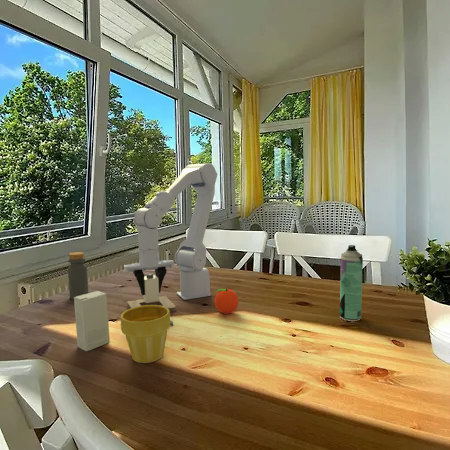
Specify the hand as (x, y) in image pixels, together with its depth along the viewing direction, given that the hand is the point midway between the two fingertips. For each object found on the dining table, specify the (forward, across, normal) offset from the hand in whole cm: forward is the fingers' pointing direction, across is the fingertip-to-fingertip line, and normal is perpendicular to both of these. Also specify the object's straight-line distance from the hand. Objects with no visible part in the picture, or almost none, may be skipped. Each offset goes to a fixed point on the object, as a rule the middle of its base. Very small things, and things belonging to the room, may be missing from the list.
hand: (150, 293), depth 106 cm
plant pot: (+5, +8, +30) cm, 31 cm away
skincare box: (+5, +18, +19) cm, 27 cm away
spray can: (+5, -46, +34) cm, 57 cm away
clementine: (+5, -18, +14) cm, 23 cm away
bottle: (+5, +19, -22) cm, 30 cm away
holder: (+5, 0, 0) cm, 5 cm away
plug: (+2, 0, 0) cm, 2 cm away
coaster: (+5, +2, +12) cm, 13 cm away
